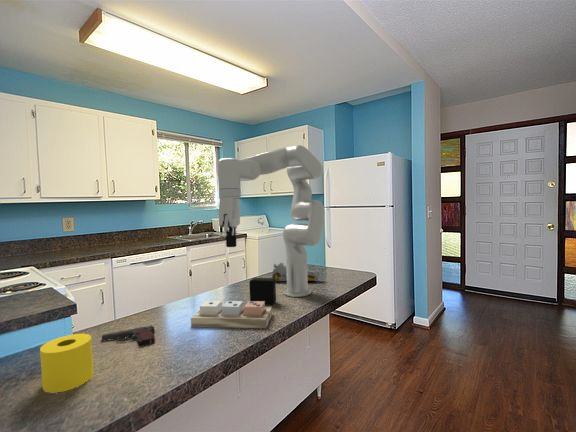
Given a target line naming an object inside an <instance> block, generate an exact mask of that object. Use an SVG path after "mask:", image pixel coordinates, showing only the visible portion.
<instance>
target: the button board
mask: <svg viewBox="0 0 576 432" xmlns="http://www.w3.org/2000/svg"><path fill="white" fill-rule="evenodd" d="M244 306H245V305H243V311H242V312H241V314H240V315H239V316H222V310H221V311H220V312H219V313H218V314H217V316H215V315H200V309H199V310H198V311H197V312H196V313H194V315H192V316H191V317H190V325H191V326H190V327H197V328H198V327H199V328H200V327H201V328H202V327H204V328H243V329H244V328H245V329H250V328H253V329H267V326H268V325H269V322H270V321H271V318H272V316H273V307H272V306H265V311H264V313H263V315H262V316H245V315H244Z"/></svg>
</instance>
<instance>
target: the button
mask: <svg viewBox="0 0 576 432" xmlns="http://www.w3.org/2000/svg"><path fill="white" fill-rule="evenodd" d="M222 306H223V301H222V300H205V301H204V302H203V303H201V305H199V310H200V315H215V316H217V314H218V313H219V312H220V311H221V310H222Z"/></svg>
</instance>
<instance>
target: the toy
mask: <svg viewBox="0 0 576 432" xmlns="http://www.w3.org/2000/svg"><path fill="white" fill-rule="evenodd" d="M307 275H308V281H312V282H313V283H314V282H315V281H318V280H319V277H320V270H317V269H316V270H314V271H313V270H309V269H307ZM271 278H274V279H275V282H276V281H277V282H279V281H284V282H287V272H286V264H284V263H283V262H279V264H277V263H274V264H273V269H272V275H271ZM277 282H276V283H277Z"/></svg>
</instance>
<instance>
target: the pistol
mask: <svg viewBox="0 0 576 432" xmlns="http://www.w3.org/2000/svg"><path fill="white" fill-rule="evenodd" d="M155 332H156V331H155V326H153V325H146V326H141V327H136V328H131V329H126V330H125V329H124V330H120V331H115V332H111V333H105V334H102V335H101V341H102V340H108V339H116V340H117V342H118V341H119V342H121V343H122V342H127V341H128V342H129V341H131V340H132V341H136V340H135V339H137V342H138V343H137V344H138V345H137V346H139V347H143V345H144V346H148V345H153V344H155V342H156V337H155V334H154V333H155ZM125 337H126V338H125ZM128 337H129V338H128ZM120 338H123V339H120ZM108 341H109V340H108Z"/></svg>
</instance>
